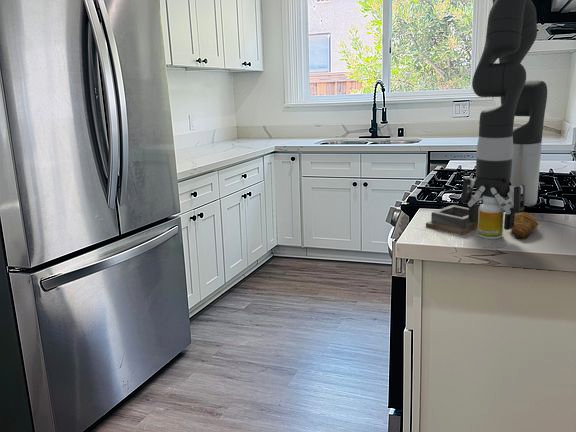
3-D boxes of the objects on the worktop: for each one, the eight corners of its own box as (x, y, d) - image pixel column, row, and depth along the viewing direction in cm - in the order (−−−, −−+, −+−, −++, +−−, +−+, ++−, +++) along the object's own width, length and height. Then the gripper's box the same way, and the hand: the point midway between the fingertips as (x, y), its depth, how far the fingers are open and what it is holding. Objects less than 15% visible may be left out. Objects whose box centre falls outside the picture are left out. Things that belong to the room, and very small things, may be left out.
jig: (453, 216, 137) (454, 203, 136) (488, 223, 129) (489, 210, 128) (425, 226, 129) (426, 213, 128) (460, 235, 122) (461, 221, 121)
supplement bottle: (504, 239, 117) (507, 198, 115) (479, 239, 119) (481, 198, 116) (499, 232, 122) (502, 192, 120) (475, 232, 124) (477, 192, 121)
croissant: (508, 222, 130) (510, 203, 128) (538, 224, 127) (540, 205, 125) (504, 239, 118) (505, 218, 117) (536, 242, 115) (538, 221, 114)
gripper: (534, 156, 112) (528, 227, 117) (475, 150, 123) (471, 215, 127) (516, 162, 108) (511, 235, 112) (456, 155, 118) (454, 222, 123)
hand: (490, 225), depth 120 cm, fingers open, 8 cm apart
